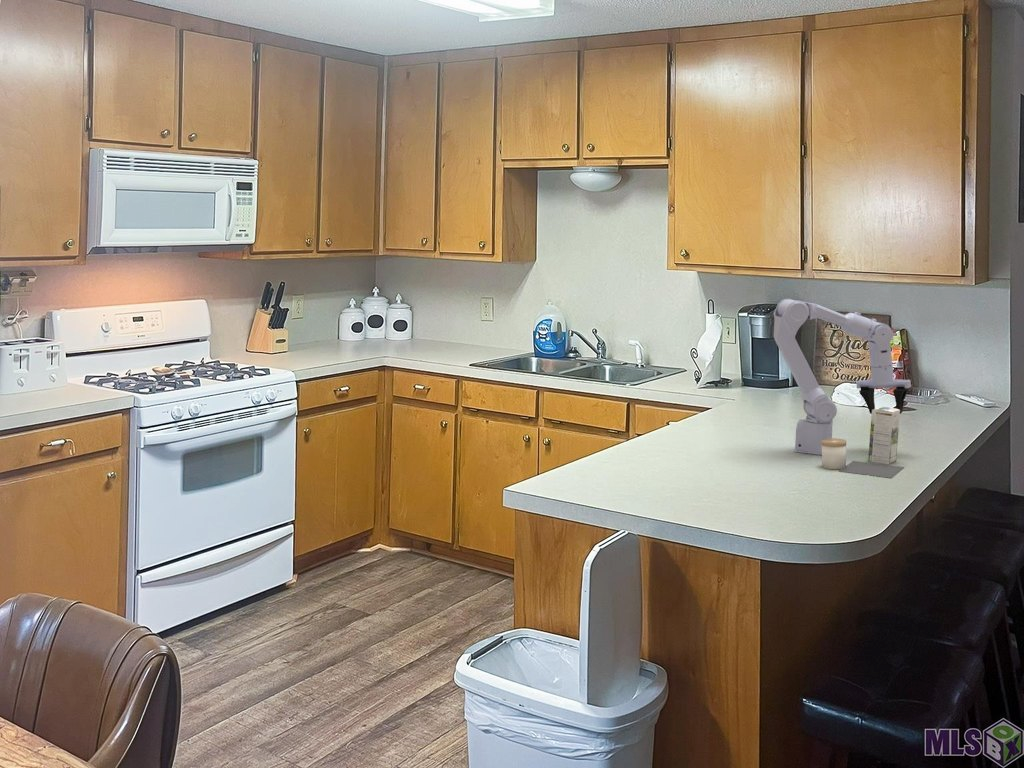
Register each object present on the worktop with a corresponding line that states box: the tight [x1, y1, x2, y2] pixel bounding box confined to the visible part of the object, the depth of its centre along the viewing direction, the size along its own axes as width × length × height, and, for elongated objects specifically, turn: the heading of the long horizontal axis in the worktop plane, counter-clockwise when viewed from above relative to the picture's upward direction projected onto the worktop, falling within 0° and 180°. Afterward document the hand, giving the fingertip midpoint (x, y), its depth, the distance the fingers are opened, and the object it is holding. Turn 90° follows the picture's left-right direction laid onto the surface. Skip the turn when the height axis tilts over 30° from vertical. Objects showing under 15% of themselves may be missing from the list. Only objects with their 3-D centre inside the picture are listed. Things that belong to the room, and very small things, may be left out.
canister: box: [821, 437, 847, 470], centre depth 258 cm, size 6×6×7 cm
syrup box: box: [867, 406, 901, 465], centre depth 264 cm, size 6×6×14 cm
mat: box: [838, 460, 905, 479], centre depth 256 cm, size 13×14×1 cm
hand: (885, 413), depth 276 cm, fingers open, 7 cm apart
